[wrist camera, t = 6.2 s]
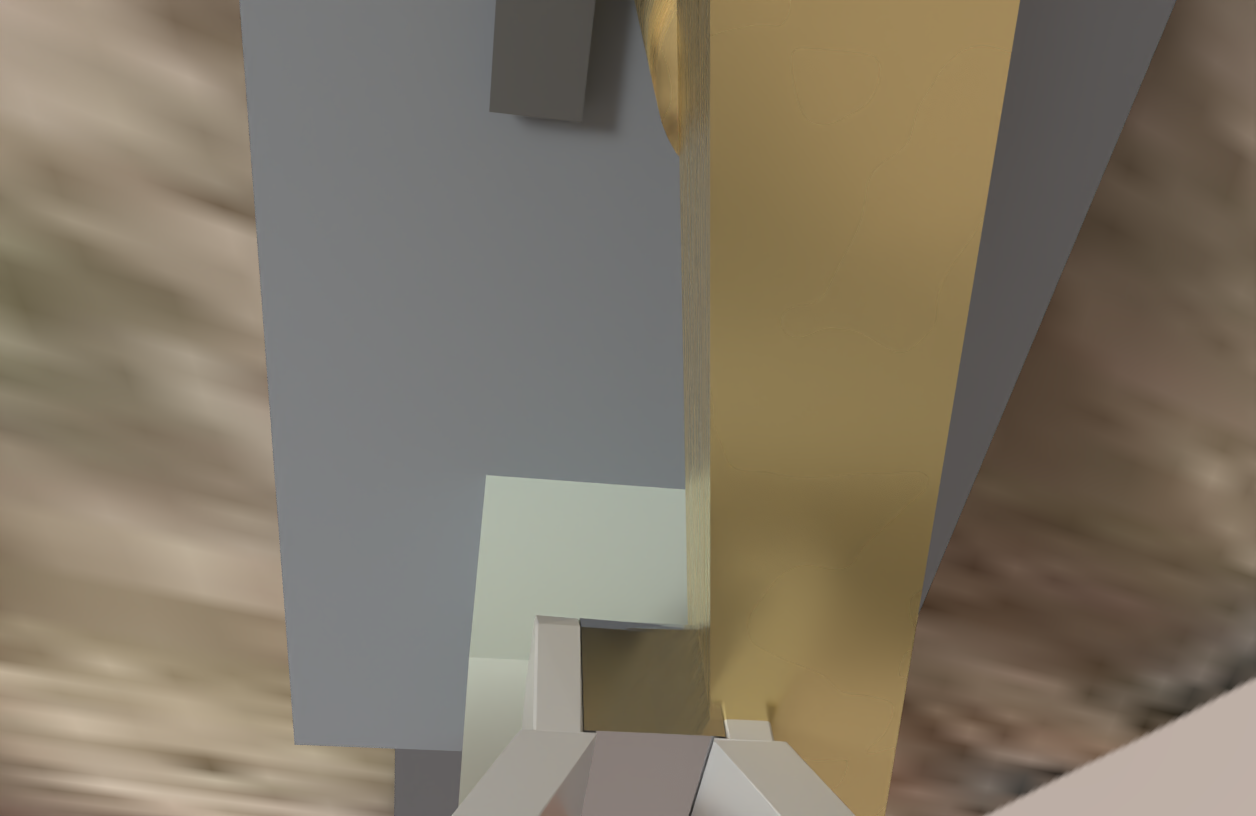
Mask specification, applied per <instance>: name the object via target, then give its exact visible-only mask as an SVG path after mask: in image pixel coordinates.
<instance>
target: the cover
mask: <svg viewBox="0 0 1256 816" xmlns="http://www.w3.org/2000/svg"><path fill="white" fill-rule="evenodd" d="M536 615H541V616H553V617H565V618H577V619H578V620H579V618H586V619H598V620H610V621H621V622H640V623H661V624H682V625H688V607H687V552H686V497H685V489H672V488H658V487H644V486H630V485H617V484H603V483H589V482H575V481H561V480H548V479H534V478H520V477H506V476H492V475H486V482H485V493H484V504H483V514H482V525H481V535H480V546H479V557H478V567H477V578H476V589H475V599H474V610H473V620H472V631H471V642H470V652H469V665H468V679H467V693H466V707H465V721H464V735H463V749H462V763H461V777H460V790H459V804H458V807H459V806H460V804H461V803H462V802H463V801H464V799H465V798H466V797H467V796H468V794H469V793H470V792H471V791H472V789H473V788H474V787H475V786H476V784H477V783H478V782H479V781H480V779H481V778H482V777H483V776H484V774H485V773H486V772H487V771H488V769H489V768H490V767H491V766H492V764H493V763H494V762H495V761H496V759H497V758H498V757H499V756H500V754H501V753H502V752H503V751H504V749H505V748H506V747H507V746H508V744H509V743H510V742H511V741H512V739H513V738H514V737H515V736H516V734H517V733H518V732H519V731H520V730H522V719H523V708H524V698H525V687H526V678H527V670H528V663H529V655H530V648H531V641H532V633H533V626H534V620H535V617H536Z"/></svg>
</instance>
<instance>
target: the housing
mask: <svg viewBox="0 0 1256 816" xmlns="http://www.w3.org/2000/svg"><path fill="white" fill-rule="evenodd" d="M239 1H240V15H241V28H242V42H243V55H244V69H245V82H246V95H247V109H248V122H249V136H250V149H251V163H252V176H253V190H254V203H255V217H256V230H257V243H258V257H259V270H260V284H261V297H262V311H263V324H264V338H265V351H266V365H267V378H268V391H269V405H270V418H271V432H272V445H273V459H274V472H275V486H276V499H277V513H278V526H279V539H280V553H281V566H282V580H283V593H284V607H285V620H286V634H287V647H288V661H289V674H290V687H291V701H292V714H293V728H294V741H295V745H320V746H344V747H369V748H394V749H418V750H443V751H462V749H463V735H464V721H465V707H466V693H467V679H468V665H469V652H470V642H471V631H472V620H473V610H474V599H475V589H476V578H477V567H478V557H479V546H480V535H481V525H482V514H483V504H484V493H485V482H486V475H492V476H506V477H520V478H534V479H548V480H561V481H575V482H589V483H603V484H617V485H630V486H644V487H658V488H672V489H685V442H684V387H683V332H682V277H681V222H680V167H679V156H678V155H677V153H676V152H675V150H674V149H673V147H672V145H671V143H670V141H669V139H668V138H667V135H666V133H665V130H664V127H663V125H662V122H661V118H660V114H659V109H658V105H657V101H656V96H655V92H654V87H653V83H652V78H651V74H650V69H649V64H648V60H647V55H646V51H645V46H644V42H643V37H642V33H641V28H640V24H639V19H638V15H637V10H636V6H635V1H634V0H239ZM1175 2H1176V0H1020V4H1019V10H1018V16H1017V22H1016V28H1015V34H1014V40H1013V46H1012V52H1011V58H1010V64H1009V70H1008V76H1007V82H1006V88H1005V94H1004V100H1003V106H1002V112H1001V118H1000V124H999V130H998V136H997V143H996V149H995V155H994V161H993V167H992V173H991V179H990V185H989V191H988V197H987V203H986V209H985V215H984V221H983V227H982V233H981V239H980V245H979V251H978V257H977V263H976V269H975V275H974V281H973V287H972V293H971V299H970V305H969V311H968V317H967V323H966V329H965V335H964V341H963V347H962V353H961V359H960V365H959V371H958V378H957V384H956V390H955V396H954V402H953V408H952V414H951V420H950V426H949V432H948V438H947V444H946V450H945V456H944V462H943V468H942V474H941V480H940V486H939V492H938V498H937V504H936V510H935V516H934V522H933V528H932V534H931V540H930V546H929V552H928V558H927V564H926V570H925V576H924V582H923V588H922V594H921V600H920V606H919V612H920V610H921V607H922V605H923V603H924V600H925V598H926V595H927V593H928V591H929V588H930V586H931V583H932V581H933V579H934V576H935V574H936V572H937V569H938V567H939V564H940V562H941V560H942V557H943V555H944V553H945V550H946V548H947V545H948V543H949V541H950V538H951V536H952V533H953V531H954V529H955V526H956V524H957V522H958V519H959V517H960V514H961V512H962V510H963V507H964V505H965V502H966V500H967V498H968V495H969V493H970V491H971V488H972V486H973V483H974V481H975V479H976V476H977V474H978V472H979V469H980V467H981V464H982V462H983V460H984V457H985V455H986V452H987V450H988V448H989V445H990V443H991V441H992V438H993V436H994V433H995V431H996V429H997V426H998V424H999V421H1000V419H1001V417H1002V414H1003V412H1004V410H1005V407H1006V405H1007V402H1008V400H1009V398H1010V395H1011V393H1012V391H1013V388H1014V386H1015V383H1016V381H1017V379H1018V376H1019V374H1020V371H1021V369H1022V367H1023V364H1024V362H1025V360H1026V357H1027V355H1028V352H1029V350H1030V348H1031V345H1032V343H1033V341H1034V338H1035V336H1036V333H1037V331H1038V329H1039V326H1040V324H1041V321H1042V319H1043V317H1044V314H1045V312H1046V310H1047V307H1048V305H1049V302H1050V300H1051V298H1052V295H1053V293H1054V290H1055V288H1056V286H1057V283H1058V281H1059V279H1060V276H1061V274H1062V271H1063V269H1064V267H1065V264H1066V262H1067V260H1068V257H1069V255H1070V252H1071V250H1072V248H1073V245H1074V243H1075V240H1076V238H1077V236H1078V233H1079V231H1080V229H1081V226H1082V224H1083V221H1084V219H1085V217H1086V214H1087V212H1088V209H1089V207H1090V205H1091V202H1092V200H1093V198H1094V195H1095V193H1096V190H1097V188H1098V186H1099V183H1100V181H1101V179H1102V176H1103V174H1104V171H1105V169H1106V167H1107V164H1108V162H1109V159H1110V157H1111V155H1112V152H1113V150H1114V148H1115V145H1116V143H1117V140H1118V138H1119V136H1120V133H1121V131H1122V129H1123V126H1124V124H1125V121H1126V119H1127V117H1128V114H1129V112H1130V109H1131V107H1132V105H1133V102H1134V100H1135V98H1136V95H1137V93H1138V90H1139V88H1140V86H1141V83H1142V81H1143V78H1144V76H1145V74H1146V71H1147V69H1148V67H1149V64H1150V62H1151V59H1152V57H1153V55H1154V52H1155V50H1156V48H1157V45H1158V43H1159V40H1160V38H1161V36H1162V33H1163V31H1164V28H1165V26H1166V24H1167V21H1168V19H1169V17H1170V14H1171V12H1172V9H1173V7H1174V5H1175ZM919 612H918V614H919Z"/></svg>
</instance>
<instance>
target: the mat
mask: <svg viewBox="0 0 1256 816" xmlns="http://www.w3.org/2000/svg"><path fill="white" fill-rule="evenodd" d="M461 763H462V751H443V750H418V749H395V804H394V816H452V814H453V813H454V812H455V811H456V809H457V808H458V804H459V790H460V777H461Z"/></svg>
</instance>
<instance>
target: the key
mask: <svg viewBox="0 0 1256 816" xmlns="http://www.w3.org/2000/svg"><path fill="white" fill-rule="evenodd" d="M634 1H635V6H636V10H637V15H638V19H639V24H640V28H641V33H642V37H643V42H644V46H645V51H646V55H647V60H648V64H649V69H650V74H651V78H652V83H653V87H654V92H655V96H656V101H657V105H658V109H659V114H660V118H661V122H662V125H663V127H664V130H665V133H666V135H667V138H668V139H669V141H670V143H671V145H672V147H673V149H674V150H675V152H676V153H677V155H678V156H679V167H680V222H681V277H682V332H683V387H684V442H685V497H686V552H687V607H688V625H695V626H696V628H697V630H698V637H699V644H700V651H701V658H702V665H703V672H704V679H705V686H706V693H707V700H708V707H709V714H710V719H719V720H723V722H724V720H726V719H735V720H756V721H769V722H770V723H771V728H772V733H773V737H774V741H783V742H787V743H788V744H789V745H790V746H791V747H792V748H793V749H794V750H795V751H796V753H797V754H798V755H799V756H800V757H801V758H802V759H803V760H804V761H805V762H806V763H807V764H808V765H809V766H810V768H811V769H812V770H813V771H814V772H815V773H816V774H817V775H818V776H819V777H820V778H821V779H822V780H823V781H824V783H825V784H826V785H827V786H828V787H829V788H830V789H831V790H832V791H833V792H834V793H835V794H836V795H837V796H838V797H839V799H840V800H841V801H842V802H843V803H844V804H845V805H846V806H847V807H848V808H849V809H850V810H851V811H852V812H853V814H854V815H855V816H885V811H886V805H887V799H888V793H889V787H890V781H891V775H892V769H893V763H894V757H895V751H896V745H897V739H898V733H899V727H900V721H901V715H902V709H903V703H904V697H905V691H906V685H907V679H908V673H909V667H910V661H911V655H912V649H913V643H914V637H915V631H916V625H917V619H918V612H919V606H920V600H921V594H922V588H923V582H924V576H925V570H926V564H927V558H928V552H929V546H930V540H931V534H932V528H933V522H934V516H935V510H936V504H937V498H938V492H939V486H940V480H941V474H942V468H943V462H944V456H945V450H946V444H947V438H948V432H949V426H950V420H951V414H952V408H953V402H954V396H955V390H956V384H957V378H958V371H959V365H960V359H961V353H962V347H963V341H964V335H965V329H966V323H967V317H968V311H969V305H970V299H971V293H972V287H973V281H974V275H975V269H976V263H977V257H978V251H979V245H980V239H981V233H982V227H983V221H984V215H985V209H986V203H987V197H988V191H989V185H990V179H991V173H992V167H993V161H994V155H995V149H996V143H997V136H998V130H999V124H1000V118H1001V112H1002V106H1003V100H1004V94H1005V88H1006V82H1007V76H1008V70H1009V64H1010V58H1011V52H1012V46H1013V40H1014V34H1015V28H1016V22H1017V16H1018V10H1019V4H1020V0H634Z"/></svg>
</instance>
